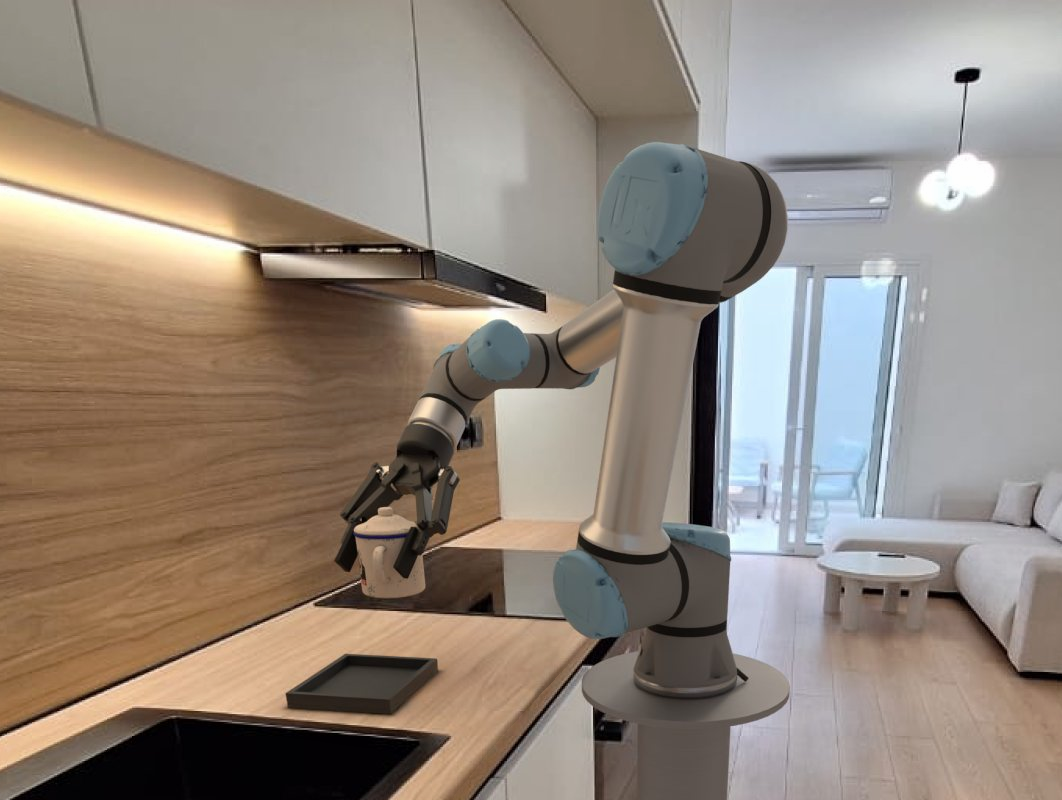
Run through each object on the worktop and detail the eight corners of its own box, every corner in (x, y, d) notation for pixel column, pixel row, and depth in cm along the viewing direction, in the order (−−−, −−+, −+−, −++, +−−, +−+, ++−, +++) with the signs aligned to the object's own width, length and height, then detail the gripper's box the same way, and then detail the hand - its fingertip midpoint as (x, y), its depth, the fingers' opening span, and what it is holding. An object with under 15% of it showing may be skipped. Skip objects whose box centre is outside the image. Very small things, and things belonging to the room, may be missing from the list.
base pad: (438, 671, 121) (437, 658, 120) (391, 714, 106) (389, 699, 105) (346, 666, 123) (345, 653, 122) (287, 707, 108) (285, 693, 107)
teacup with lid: (370, 583, 119) (360, 503, 114) (432, 582, 119) (425, 502, 115) (347, 605, 107) (335, 517, 103) (416, 604, 108) (407, 516, 104)
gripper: (506, 459, 117) (451, 592, 109) (383, 453, 124) (323, 577, 116) (483, 422, 110) (424, 561, 102) (355, 419, 118) (290, 547, 110)
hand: (370, 569), depth 109 cm, fingers closed on teacup with lid, 9 cm apart
